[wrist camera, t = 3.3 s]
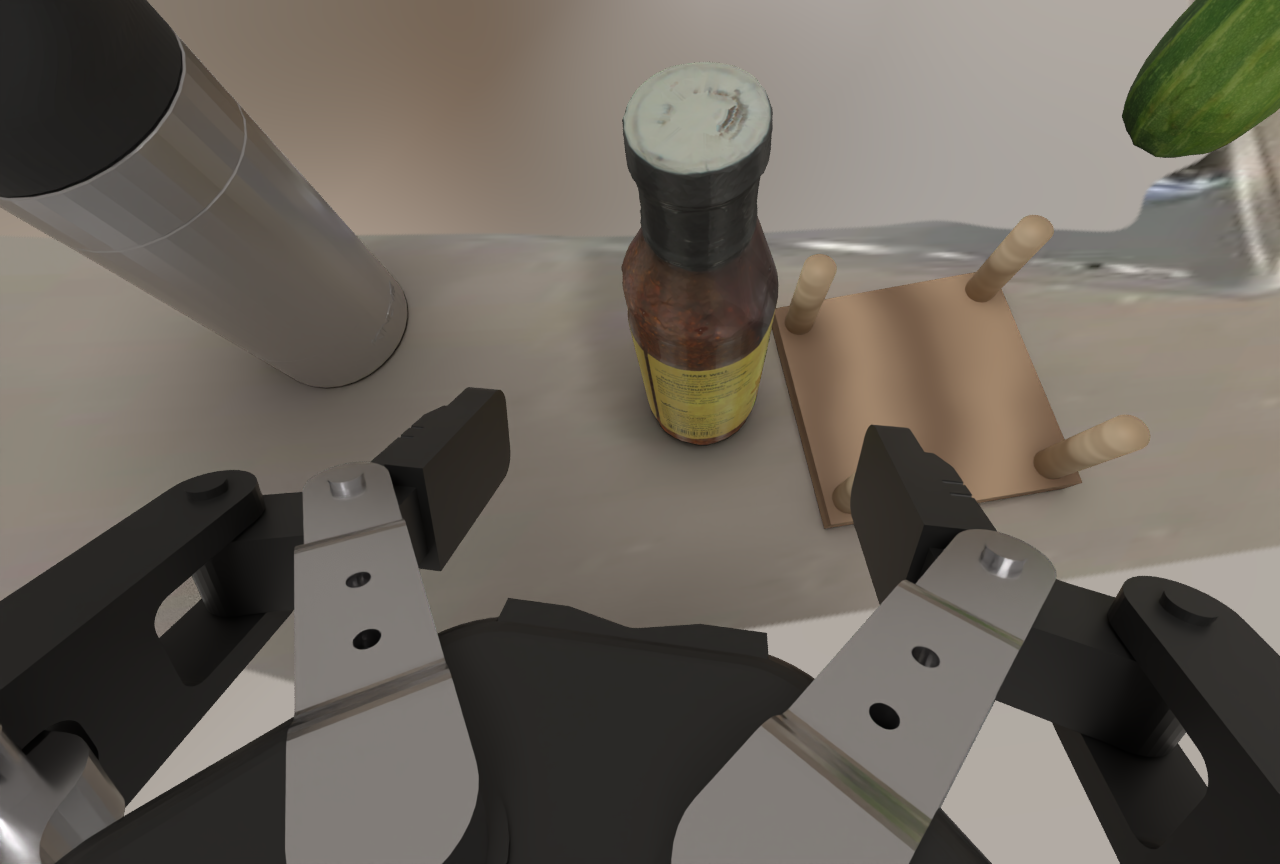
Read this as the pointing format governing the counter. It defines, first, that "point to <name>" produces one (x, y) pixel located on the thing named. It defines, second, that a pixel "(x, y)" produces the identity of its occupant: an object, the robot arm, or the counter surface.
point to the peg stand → (932, 381)
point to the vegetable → (1207, 79)
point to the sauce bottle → (699, 246)
